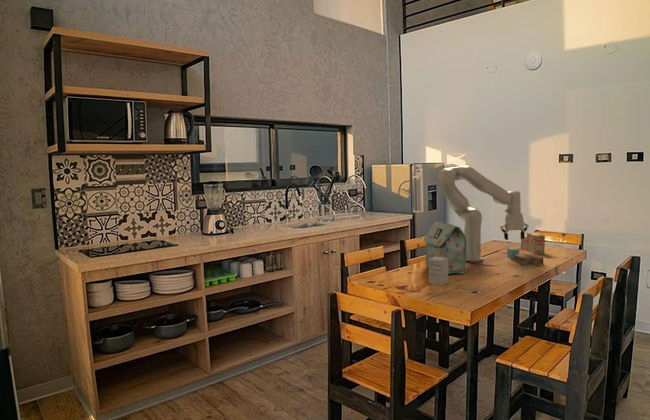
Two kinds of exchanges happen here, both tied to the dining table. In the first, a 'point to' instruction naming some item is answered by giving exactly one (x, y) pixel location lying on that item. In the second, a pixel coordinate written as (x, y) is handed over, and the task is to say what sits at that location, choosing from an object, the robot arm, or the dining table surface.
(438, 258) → the supplement box
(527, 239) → the stack of blocks
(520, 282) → the dining table surface
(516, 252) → the teal block
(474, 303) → the dining table surface
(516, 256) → the walnut block
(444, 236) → the lunch bag
